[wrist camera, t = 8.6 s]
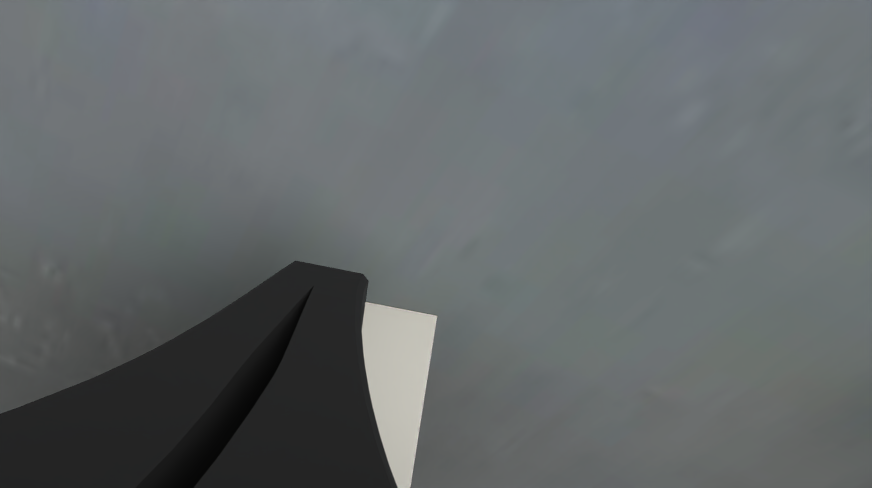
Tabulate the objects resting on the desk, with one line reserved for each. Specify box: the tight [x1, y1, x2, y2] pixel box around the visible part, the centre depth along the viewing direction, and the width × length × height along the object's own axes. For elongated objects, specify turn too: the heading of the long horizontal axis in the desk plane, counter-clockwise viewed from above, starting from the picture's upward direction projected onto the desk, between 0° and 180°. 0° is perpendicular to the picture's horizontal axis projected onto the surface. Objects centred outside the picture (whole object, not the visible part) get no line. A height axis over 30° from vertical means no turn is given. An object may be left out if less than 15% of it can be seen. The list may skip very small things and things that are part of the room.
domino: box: [362, 302, 437, 488], centre depth 14 cm, size 4×2×9 cm, turn 80°
